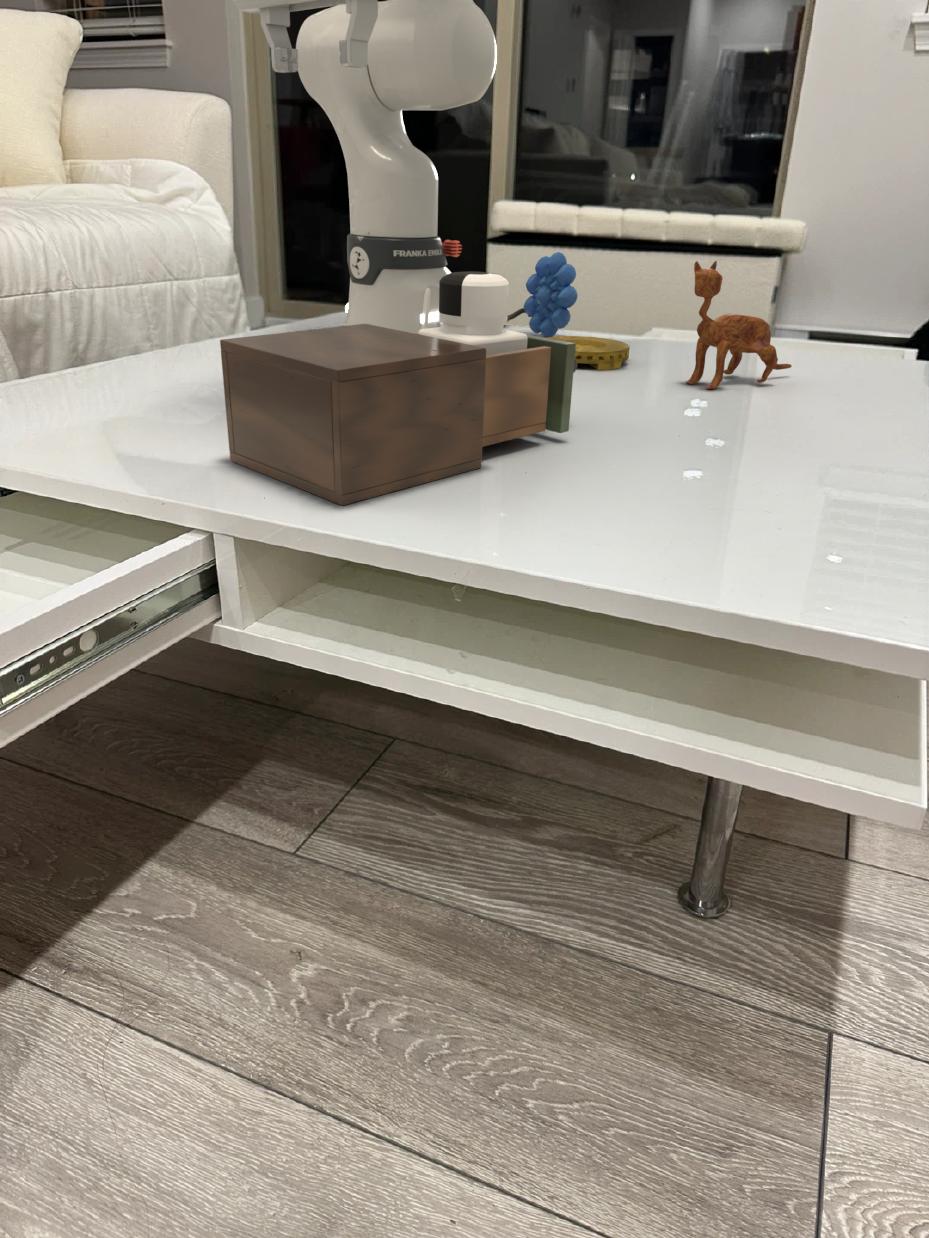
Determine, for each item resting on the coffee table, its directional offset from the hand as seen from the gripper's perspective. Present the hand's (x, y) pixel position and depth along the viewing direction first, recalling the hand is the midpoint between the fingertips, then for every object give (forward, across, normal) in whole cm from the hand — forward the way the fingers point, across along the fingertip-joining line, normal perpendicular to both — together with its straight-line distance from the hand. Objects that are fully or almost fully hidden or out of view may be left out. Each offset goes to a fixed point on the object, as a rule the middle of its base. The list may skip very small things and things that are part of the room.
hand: (318, 70), depth 76 cm
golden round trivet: (+29, +2, -43) cm, 52 cm away
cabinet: (+29, -15, +9) cm, 34 cm away
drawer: (+28, -15, -6) cm, 32 cm away
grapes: (+29, +16, -54) cm, 64 cm away
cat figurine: (+29, -18, -48) cm, 59 cm away
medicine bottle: (+27, -14, -5) cm, 31 cm away
